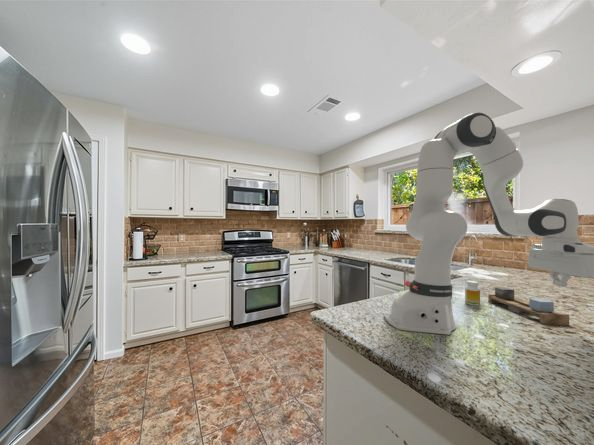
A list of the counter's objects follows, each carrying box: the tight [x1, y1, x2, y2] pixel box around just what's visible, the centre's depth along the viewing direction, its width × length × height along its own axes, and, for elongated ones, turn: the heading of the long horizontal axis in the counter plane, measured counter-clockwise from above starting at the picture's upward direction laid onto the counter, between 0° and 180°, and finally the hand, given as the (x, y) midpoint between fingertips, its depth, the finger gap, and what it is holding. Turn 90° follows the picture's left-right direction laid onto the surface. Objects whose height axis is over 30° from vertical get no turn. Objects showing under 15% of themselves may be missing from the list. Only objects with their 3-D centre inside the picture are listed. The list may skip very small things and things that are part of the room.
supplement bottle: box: [464, 280, 481, 307], centre depth 106 cm, size 5×5×10 cm
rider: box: [528, 298, 555, 313], centre depth 90 cm, size 5×4×4 cm
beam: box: [487, 286, 570, 326], centre depth 97 cm, size 9×24×7 cm, turn 0°
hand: (559, 285), depth 84 cm, fingers closed
